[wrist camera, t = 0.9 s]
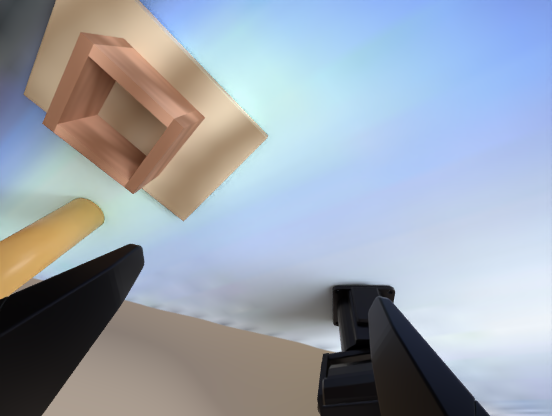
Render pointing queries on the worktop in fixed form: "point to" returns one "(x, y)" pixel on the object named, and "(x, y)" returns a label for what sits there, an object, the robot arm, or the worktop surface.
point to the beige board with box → (138, 103)
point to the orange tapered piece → (45, 242)
